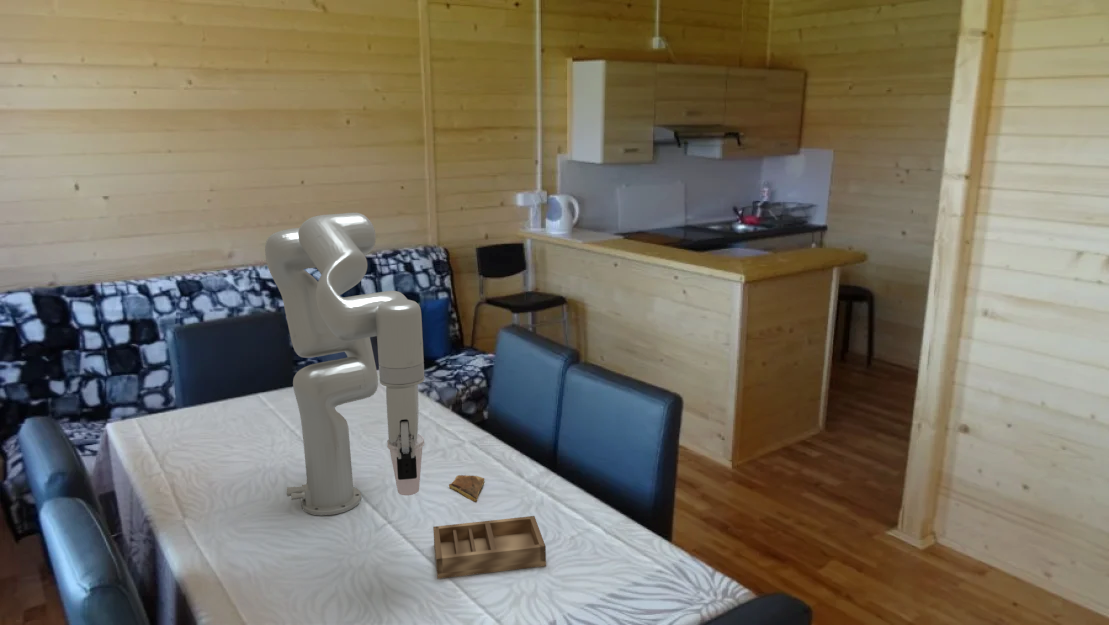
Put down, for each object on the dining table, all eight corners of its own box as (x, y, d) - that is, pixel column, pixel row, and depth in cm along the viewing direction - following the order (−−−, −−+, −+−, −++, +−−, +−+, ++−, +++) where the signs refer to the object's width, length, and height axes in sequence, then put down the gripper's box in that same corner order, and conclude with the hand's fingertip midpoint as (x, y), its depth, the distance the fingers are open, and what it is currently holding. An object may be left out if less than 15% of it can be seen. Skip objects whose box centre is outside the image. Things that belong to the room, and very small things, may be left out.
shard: (476, 505, 172) (476, 497, 172) (442, 503, 173) (441, 496, 173) (486, 482, 183) (485, 475, 182) (453, 481, 184) (453, 474, 183)
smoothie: (392, 483, 143) (388, 410, 140) (428, 481, 143) (424, 409, 140) (387, 499, 137) (383, 423, 133) (425, 498, 137) (421, 422, 134)
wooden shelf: (437, 578, 144) (436, 559, 143) (434, 545, 155) (433, 526, 154) (545, 565, 147) (545, 546, 146) (534, 533, 159) (534, 515, 158)
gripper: (380, 359, 142) (386, 451, 147) (377, 390, 126) (384, 494, 130) (422, 356, 144) (427, 448, 148) (425, 387, 127) (430, 489, 131)
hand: (407, 468), depth 139 cm, fingers closed on smoothie, 6 cm apart
